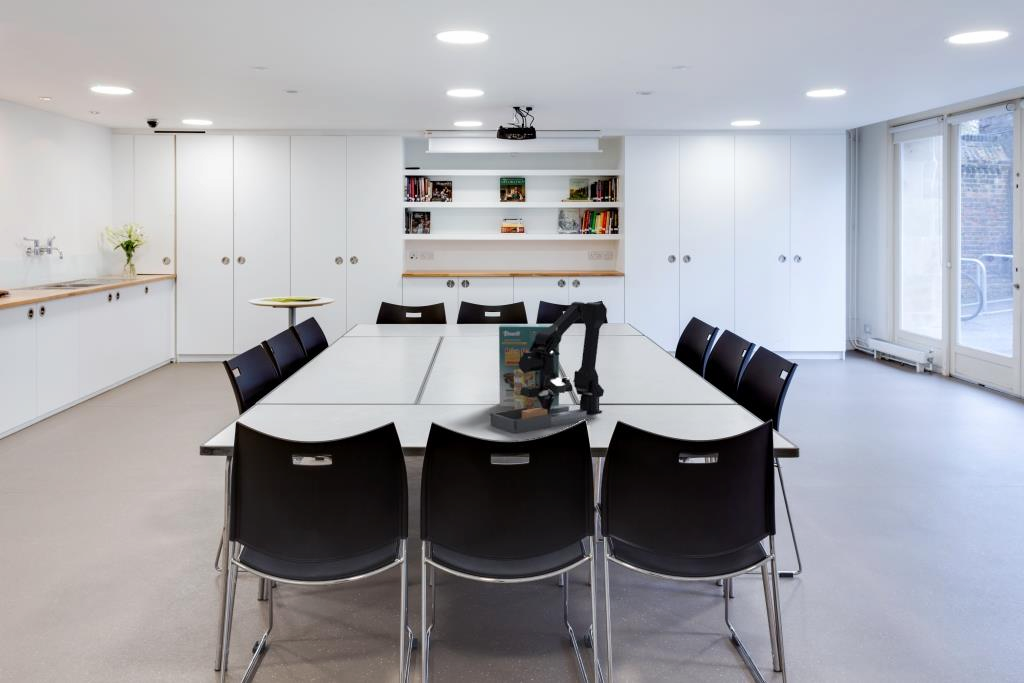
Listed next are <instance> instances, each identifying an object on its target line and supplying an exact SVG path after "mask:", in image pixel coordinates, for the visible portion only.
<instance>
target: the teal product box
mask: <svg viewBox="0 0 1024 683" xmlns="http://www.w3.org/2000/svg"><path fill="white" fill-rule="evenodd" d="M551 325H552V324H500V325H499V326H498V353H499V354H498V356H499V357H498V360H499V361H498V364H499V366H498V367H499V370H498V372H499V407H515V406H514V370H516V369H519V368H520V367H519V361H520V358H521V357H522V356H523V352H529V350H530V348H531V346H532V344H533V342H534V340H535V337H536V335H537V334H538V333H539V332H540V331H542V330H543V329H545V328H547V327H550V326H551ZM538 349H541V348H538ZM556 350H557V351H558V352H559V353H560V343H559V344H558V346H557V347H556ZM555 372H557V374H558V378H559V379H560V354H559V355H555ZM534 377H535V387H536V388H538V387H537V386H536V383H538V375H536V371H534ZM543 390H545V389H543ZM557 405H560V394H559V395H558V396H556V397H555V398H554V400H553V402H552V405H551V406H557ZM535 408H542V406H541V403H540V402H539V400H538V398H537V397H535Z"/></svg>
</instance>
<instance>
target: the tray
mask: <svg viewBox="0 0 1024 683" xmlns="http://www.w3.org/2000/svg"><path fill="white" fill-rule="evenodd" d="M524 410H528V408H520V409H515V408H514V409H509V410H503V411H497V412H491V413H490V426H491V427H494V428H496V429H497V428H498V429H500V430H503V431H506V432H509V433H512V434H514V435H515V434H516V435H517V434H521V433H526V432H533V431H537V430H541V429H548V428H552V427H551V415H550V414H548V415H543V416H537V417H531V418H526V419H522V411H524Z"/></svg>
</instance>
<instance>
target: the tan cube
mask: <svg viewBox="0 0 1024 683" xmlns="http://www.w3.org/2000/svg"><path fill="white" fill-rule="evenodd" d="M532 409H533V408H532ZM532 409H529V410H524V411H522V419H526V418H531V417H537V416H538V411H536V410H532Z"/></svg>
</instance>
